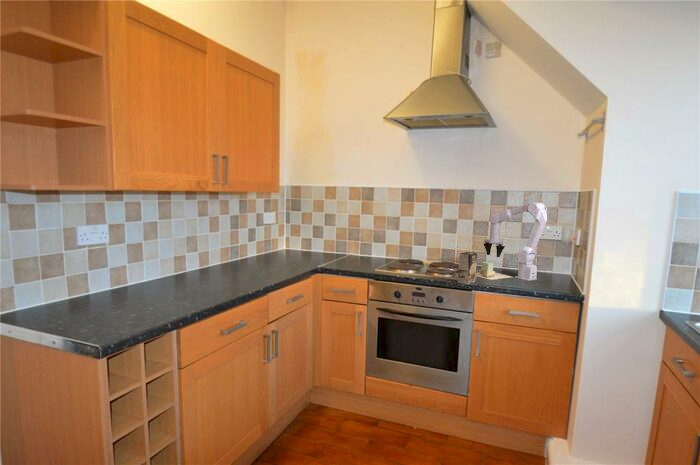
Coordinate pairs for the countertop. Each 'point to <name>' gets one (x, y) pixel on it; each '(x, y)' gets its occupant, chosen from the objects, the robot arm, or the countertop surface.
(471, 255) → the coffee box
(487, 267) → the green cube
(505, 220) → the robot arm
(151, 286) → the countertop surface
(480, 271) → the beech base block
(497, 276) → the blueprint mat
